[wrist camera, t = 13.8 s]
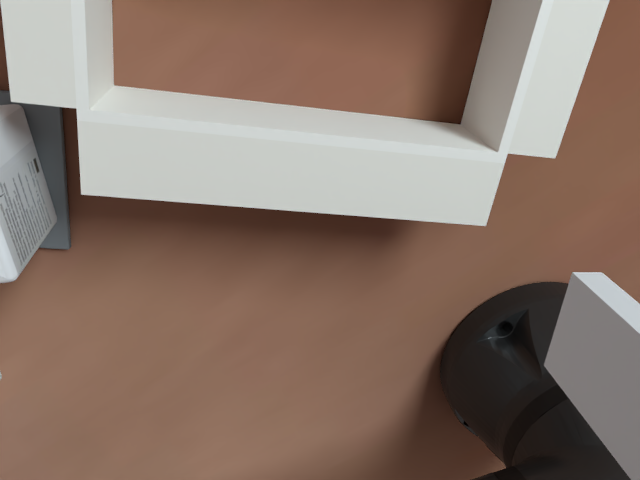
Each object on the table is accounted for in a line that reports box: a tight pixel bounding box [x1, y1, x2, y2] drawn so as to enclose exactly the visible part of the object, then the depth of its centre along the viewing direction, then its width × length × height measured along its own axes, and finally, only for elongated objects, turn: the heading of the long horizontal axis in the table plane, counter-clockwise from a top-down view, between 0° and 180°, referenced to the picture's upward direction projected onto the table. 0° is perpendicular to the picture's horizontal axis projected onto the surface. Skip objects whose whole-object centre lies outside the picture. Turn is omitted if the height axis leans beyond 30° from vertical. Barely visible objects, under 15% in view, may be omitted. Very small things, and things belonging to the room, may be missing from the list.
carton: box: [0, 0, 609, 226], centre depth 29 cm, size 21×29×6 cm
